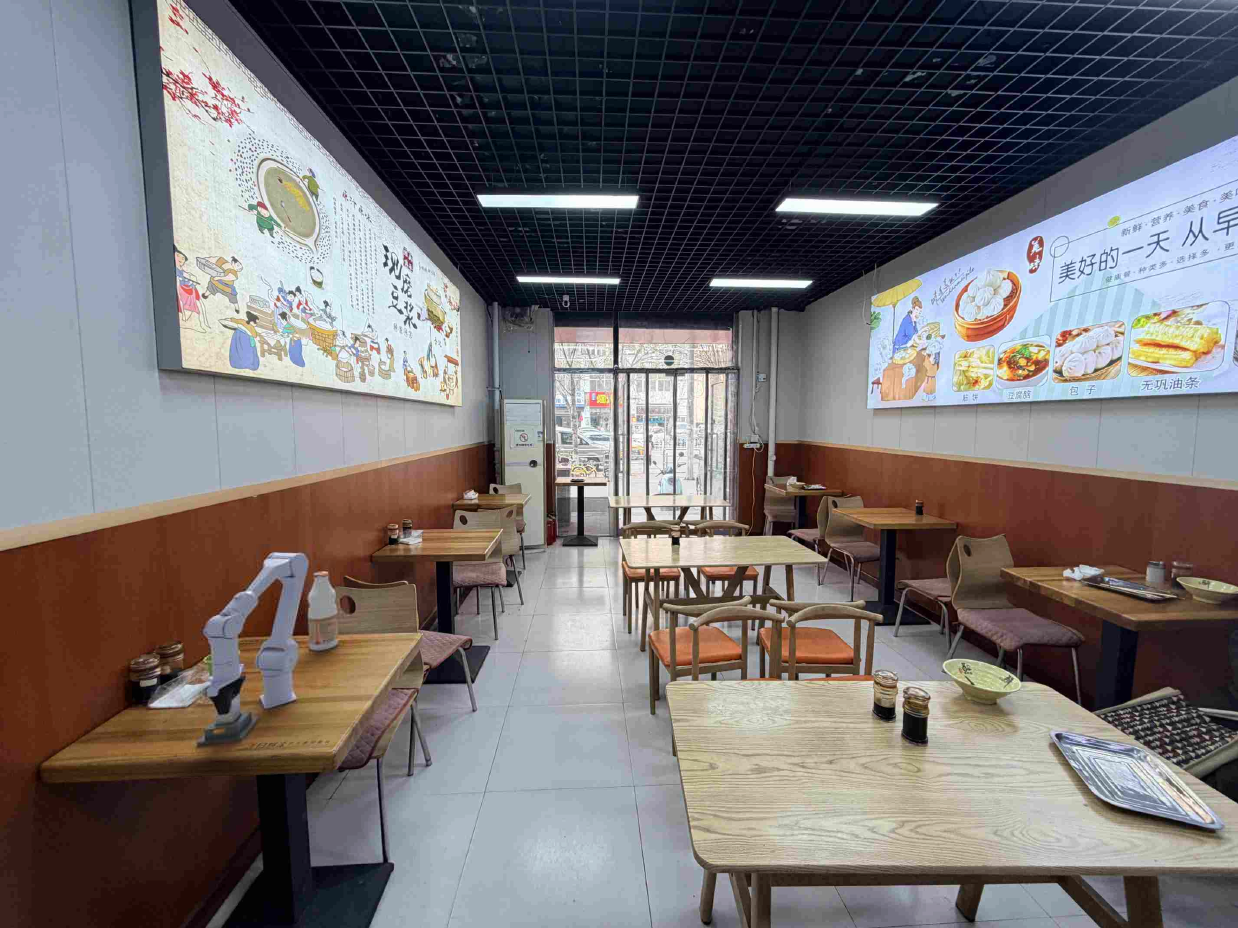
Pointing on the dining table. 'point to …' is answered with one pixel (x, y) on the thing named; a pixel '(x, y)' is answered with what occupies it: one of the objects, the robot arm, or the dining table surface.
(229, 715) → the post
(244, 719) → the stand base
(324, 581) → the fruit juice
